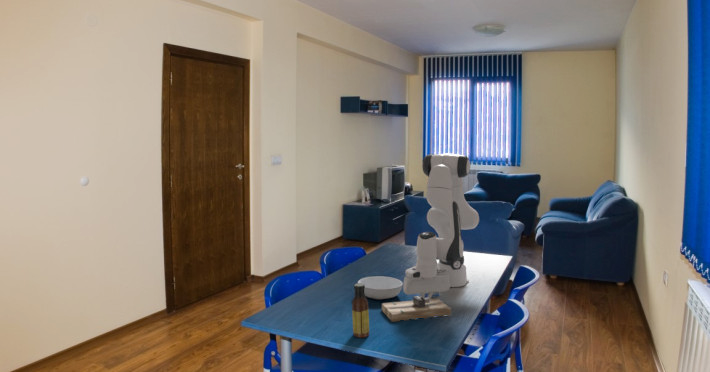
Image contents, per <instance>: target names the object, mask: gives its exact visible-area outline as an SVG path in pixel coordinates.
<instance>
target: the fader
mask: <svg viewBox="0 0 710 372" xmlns="http://www.w3.org/2000/svg"><path fill="white" fill-rule="evenodd" d="M412 299H413V300H412V301H413V303H414V304H415V305H416V306H417V307H418V308H421V307H425V300H424V299H423V298H422V297H421V295H414V296H413V297H412Z"/></svg>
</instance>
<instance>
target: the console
mask: <svg viewBox="0 0 710 372" xmlns="http://www.w3.org/2000/svg"><path fill="white" fill-rule="evenodd" d="M381 312H383V313H384V315H386V317H387V318H388V319H389V321H391V322H393V323H394V322H401V321H400V320H404V321H410V320H409V319H414V320H417V319H416V318H424V319H428V318H427V317H433V318H435V317H434V316H443V317H445V316H444V315H451V316H452V307H449V305H447V304H445V303H444V302H443V301H442V300H440V299H439V298H431V299H430V303H425V307H421V308H418V307H417V306H416V305H415V304H414V303H413V300H405V301H392V302H383V303H381Z"/></svg>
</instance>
